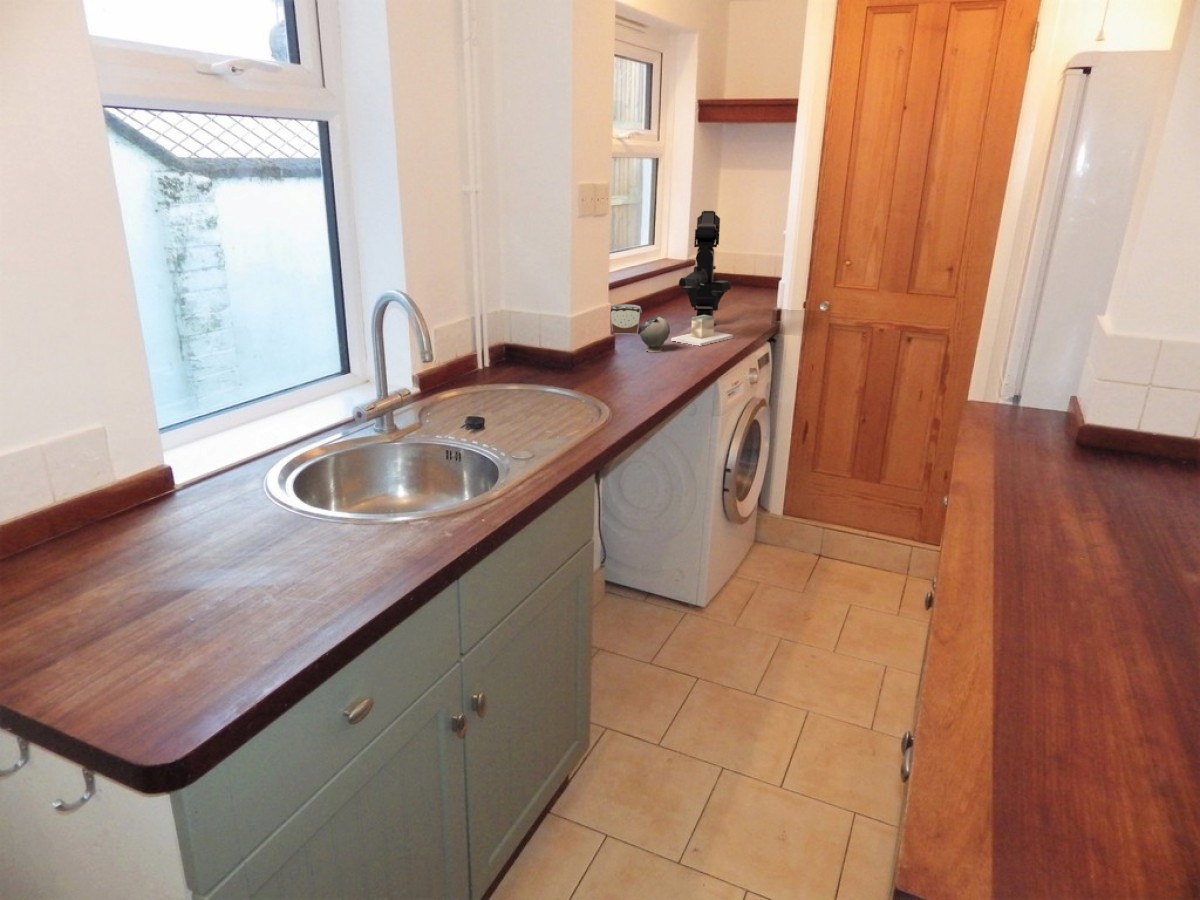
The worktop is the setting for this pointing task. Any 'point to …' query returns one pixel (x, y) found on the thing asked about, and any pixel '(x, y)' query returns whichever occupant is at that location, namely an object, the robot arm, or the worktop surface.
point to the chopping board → (704, 341)
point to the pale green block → (702, 326)
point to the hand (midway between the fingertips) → (703, 308)
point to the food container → (625, 319)
